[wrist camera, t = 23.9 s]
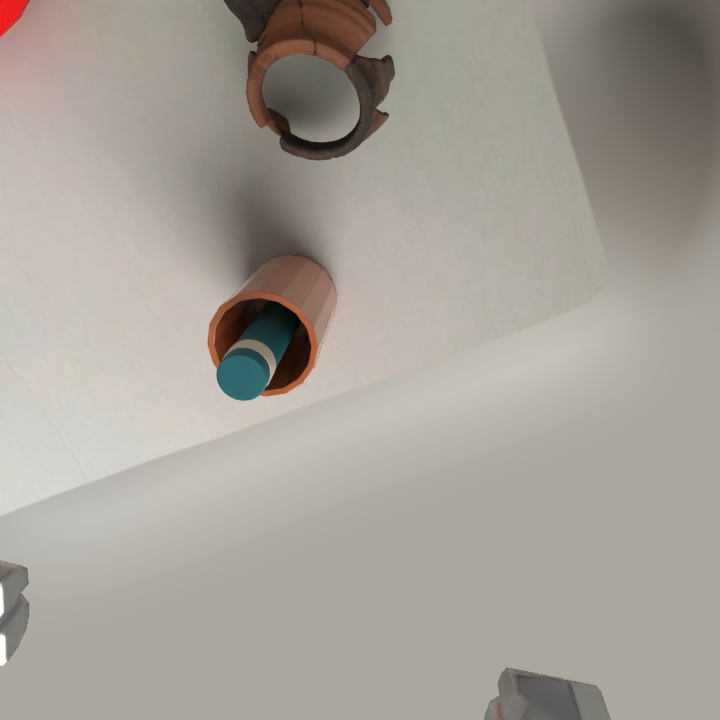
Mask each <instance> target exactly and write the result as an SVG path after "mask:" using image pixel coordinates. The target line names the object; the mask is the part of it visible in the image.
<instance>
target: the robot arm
mask: <svg viewBox="0 0 720 720" xmlns="http://www.w3.org/2000/svg"><path fill="white" fill-rule="evenodd" d="M27 585H28V571H27V568H25V567H23V566H21V565H16V564H12V563H8V562H4V561H0V666H2V665H4V664H6V663H7V662H8V660H9V659H10V657H11V656H12V655H13V653H14V652H15V650H16V649H17V648H18V646H19V644H20V642H21V639H22V637H23V635H24V633H25V630H26V628H27V623H28V619H29V603H28V602H27V601H26V599H25V598H24V596H23V595H22V594H21V592H22V591H23V590H24V589H25V587H26V586H27ZM498 688H499V695H500V696H498V697H496V698H495V699H493V700H491V701H490V703H489V705H488V708H487V711H486V714H485V718H484V720H611V719H610V716H609V714H608V710H607V708H606V705H605V702H604V699H603V696H602V693H601V691H600V690H599V689H598V687H597V686H595V685H590V684H586V683H581V682H576V681H571V680H564V679H562V678H558V677H553V676H548V675H543V674H538V673H533V672H528V671H523V670H517V669H513V668H508V667H507V668H506V669H505V670H504V671H503V672H502V674H501V676H500V678H499V681H498Z"/></svg>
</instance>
